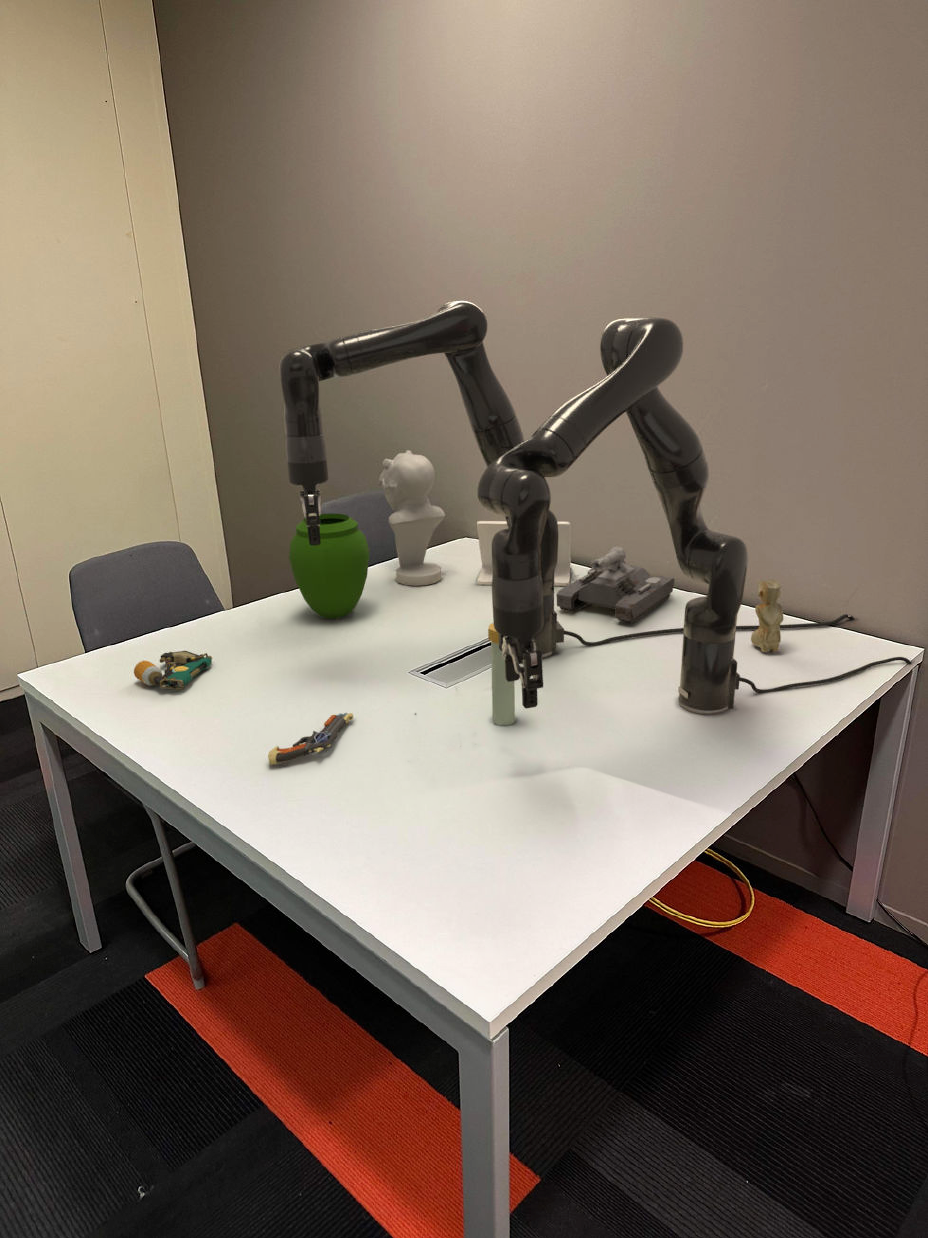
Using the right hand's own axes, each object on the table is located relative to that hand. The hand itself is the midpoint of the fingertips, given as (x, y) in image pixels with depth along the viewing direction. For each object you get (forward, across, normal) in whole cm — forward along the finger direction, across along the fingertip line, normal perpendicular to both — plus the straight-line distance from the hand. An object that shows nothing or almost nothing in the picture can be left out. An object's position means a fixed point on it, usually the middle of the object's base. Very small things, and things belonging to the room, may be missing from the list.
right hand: (521, 692), depth 133 cm
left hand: (-11, +53, +25) cm, 60 cm away
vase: (+22, +86, +21) cm, 91 cm away
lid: (-1, +21, -3) cm, 21 cm away
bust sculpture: (+25, +110, -2) cm, 113 cm away
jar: (+17, +19, -2) cm, 26 cm away
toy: (+24, +70, -47) cm, 88 cm away
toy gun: (+15, +21, +32) cm, 42 cm away
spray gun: (+17, +59, +58) cm, 84 cm away
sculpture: (+22, +33, -66) cm, 77 cm away
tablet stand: (+26, +100, -34) cm, 109 cm away
